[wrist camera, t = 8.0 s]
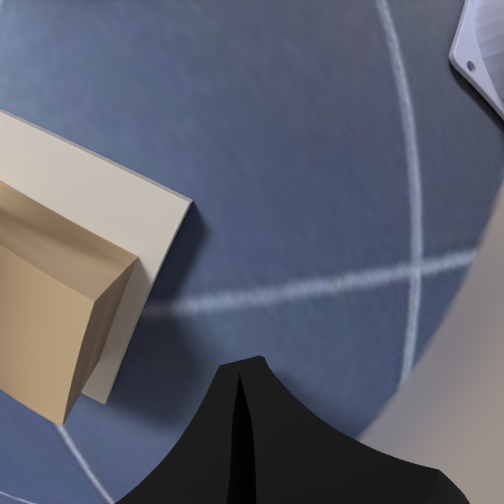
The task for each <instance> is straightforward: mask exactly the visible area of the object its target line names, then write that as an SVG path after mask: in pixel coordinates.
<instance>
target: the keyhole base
mask: <svg viewBox="0 0 504 504" xmlns="http://www.w3.org/2000/svg"><path fill="white" fill-rule="evenodd" d="M0 180H1V181H3V182H4V183H6V184H8V185H9V186H11V187H13V188H14V189H16V190H18V191H19V192H21V193H23V194H25V195H26V196H28V197H30V198H31V199H33V200H35V201H37V202H38V203H40V204H42V205H44V206H45V207H47V208H49V209H51V210H52V211H54V212H56V213H58V214H60V215H61V216H63V217H65V218H67V219H69V220H70V221H72V222H74V223H76V224H78V225H80V226H82V227H83V228H85V229H87V230H89V231H91V232H93V233H95V234H96V235H98V236H100V237H102V238H104V239H106V240H108V241H110V242H112V243H114V244H115V245H117V246H119V247H121V248H123V249H125V250H127V251H129V252H131V253H133V254H135V255H137V256H138V259H137V261H136V264H135V266H134V268H133V271H132V273H131V276H130V278H129V281H128V283H127V286H126V288H125V291H124V293H123V296H122V299H121V301H120V304H119V306H118V309H117V312H116V315H115V317H114V320H113V323H112V326H111V328H110V331H109V334H108V337H107V340H106V343H105V346H104V349H103V352H102V355H101V358H100V360H99V362H98V364H97V365H96V367H95V369H94V370H93V372H92V374H91V376H90V377H89V379H88V381H87V382H86V384H85V386H84V388H83V389H82V391H81V393H82V394H84V395H86V396H88V397H90V398H92V399H94V400H96V401H98V402H100V403H102V404H104V405H105V403H106V401H107V399H108V396H109V394H110V392H111V390H112V387H113V384H114V381H115V379H116V376H117V373H118V371H119V368H120V365H121V363H122V360H123V357H124V355H125V352H126V350H127V347H128V345H129V342H130V339H131V337H132V334H133V332H134V330H135V327H136V325H137V322H138V320H139V317H140V315H141V313H142V310H143V308H144V305H145V303H146V301H147V298H148V296H149V294H150V291H151V289H152V287H153V284H154V282H155V280H156V278H157V275H158V273H159V271H160V269H161V266H162V264H163V262H164V260H165V258H166V255H167V253H168V251H169V249H170V247H171V245H172V243H173V240H174V238H175V236H176V234H177V232H178V230H179V228H180V226H181V224H182V222H183V219H184V217H185V215H186V213H187V211H188V209H189V207H190V205H191V203H192V201H193V200H192V199H190V198H188V197H186V196H184V195H182V194H180V193H178V192H176V191H174V190H172V189H169V188H167V187H165V186H163V185H161V184H159V183H157V182H155V181H153V180H151V179H149V178H147V177H145V176H143V175H141V174H139V173H137V172H135V171H133V170H131V169H128V168H126V167H124V166H122V165H120V164H118V163H116V162H114V161H112V160H110V159H108V158H106V157H104V156H101V155H99V154H97V153H95V152H93V151H91V150H89V149H87V148H85V147H82V146H80V145H78V144H76V143H74V142H72V141H70V140H68V139H65V138H63V137H61V136H59V135H57V134H55V133H53V132H50V131H48V130H46V129H44V128H42V127H40V126H37V125H35V124H33V123H31V122H29V121H27V120H24V119H22V118H20V117H18V116H16V115H13V114H11V113H9V112H7V111H5V110H2V109H0Z"/></svg>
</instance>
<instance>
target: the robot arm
mask: <svg viewBox="0 0 504 504" xmlns="http://www.w3.org/2000/svg"><path fill="white" fill-rule="evenodd" d="M449 58H450V62H451V64H452V65H453V66H454V68H455V69H456V70H457V71H458V72H459V73H460V74H461V75H462V76H463V77H464V78H465V79H466V80H467V81H468V82H469V83H470V84H471V85H472V86H473V87H474V88H475V89H476V90H477V91H478V92H479V93H480V94H481V95H482V96H483V97H484V98H485V99H486V101H487V102H488V103H489V104H490V105H491V106H492V107H493V108H494V110H495V111H496V112H497V113H498V114H499V115H500V117H501V118H502V119H503V120H504V0H465V4H464V7H463V11H462V14H461V18H460V21H459V24H458V28H457V31H456V34H455V37H454V40H453V43H452V46H451V49H450V52H449ZM467 66H468V67H469V69H468V67H467ZM115 504H470V503H469V501H468V500H467V499H466V497H465V495H464V494H463V493H462V491H461V490H460V489H459V488H458V487H457V486H456V485H455V484H454V483H453V482H452V481H451V480H450V479H449V478H448V477H447V476H446V475H445V474H443V473H442V472H441V471H440V470H438V469H434V468H430V467H425V466H421V465H417V464H414V463H410V462H407V461H404V460H401V459H398V458H395V457H393V456H390V455H387V454H385V453H382V452H379V451H377V450H375V449H373V448H370V447H368V446H366V445H364V444H362V443H360V442H358V441H356V440H354V439H352V438H350V437H348V436H346V435H345V434H343V433H341V432H340V431H338V430H336V429H335V428H333V427H332V426H330V425H329V424H327V423H326V422H324V421H323V420H321V419H320V418H319V417H317V416H316V415H315V414H313V413H312V412H311V411H310V410H308V409H307V408H306V407H305V406H304V405H303V404H302V403H300V402H299V401H298V400H297V399H296V398H295V397H294V396H293V395H292V394H291V393H290V392H289V391H288V390H287V389H286V388H285V387H284V386H283V385H282V383H281V382H280V381H279V380H278V379H277V378H276V376H275V375H274V374H273V372H272V371H271V369H270V368H269V366H268V365H267V363H266V360H265V358H264V357H262V356H256V357H252V358H248V359H244V360H240V361H236V362H232V363H228V364H224V365H220V366H219V368H218V369H217V372H216V374H215V376H214V378H213V381H212V383H211V385H210V387H209V389H208V391H207V393H206V395H205V397H204V399H203V401H202V403H201V405H200V407H199V408H198V410H197V412H196V414H195V416H194V417H193V419H192V420H191V422H190V424H189V425H188V427H187V428H186V430H185V431H184V433H183V435H182V436H181V437H180V439H179V440H178V442H177V443H176V444H175V446H174V447H173V448H172V450H171V451H170V452H169V453H168V454H167V456H166V457H165V458H164V459H163V460H162V462H161V463H160V464H159V465H158V466H157V467H156V468H155V469H154V470H153V471H152V472H151V473H150V474H149V475H148V476H147V477H146V478H145V479H144V480H143V481H142V482H141V483H140V484H139V485H137V486H136V487H135V488H134V489H133V490H132V491H130V492H129V493H128V494H127V495H126V496H124V497H123V498H122V499H120V500H119V501H118V502H116V503H115Z"/></svg>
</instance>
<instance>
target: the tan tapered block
mask: <svg viewBox="0 0 504 504" xmlns="http://www.w3.org/2000/svg"><path fill="white" fill-rule="evenodd" d="M137 259H138V256H137V255H135V254H133V253H131V252H129V251H127V250H125V249H123V248H121V247H119V246H117V245H115V244H114V243H112V242H110V241H108V240H106V239H104V238H102V237H100V236H98V235H96V234H95V233H93V232H91V231H89V230H87V229H85V228H83V227H82V226H80V225H78V224H76V223H74V222H72V221H70V220H69V219H67V218H65V217H63V216H61V215H60V214H58V213H56V212H54V211H52V210H51V209H49V208H47V207H45V206H44V205H42V204H40V203H38V202H37V201H35V200H33V199H31V198H30V197H28V196H26V195H25V194H23V193H21V192H19V191H18V190H16V189H14V188H13V187H11V186H9V185H8V184H6V183H4V182H3V181H1V180H0V389H2V390H3V391H4V392H6V393H7V394H9V395H10V396H12V397H13V398H15V399H16V400H18V401H19V402H21V403H22V404H24V405H25V406H27V407H29V408H30V409H32V410H33V411H35V412H37V413H38V414H40V415H42V416H43V417H45V418H47V419H49V420H50V421H52V422H54V423H56V424H58V425H59V426H61V427H62V426H63V424H64V422H65V420H66V419H67V417H68V415H69V413H70V411H71V409H72V407H73V406H74V404H75V402H76V400H77V398H78V397H79V395H80V393H81V391H82V389H83V388H84V386H85V384H86V382H87V381H88V379H89V377H90V376H91V374H92V372H93V370H94V369H95V367H96V365H97V364H98V362H99V360H100V358H101V355H102V352H103V349H104V346H105V343H106V340H107V337H108V334H109V331H110V328H111V326H112V323H113V320H114V317H115V315H116V312H117V309H118V306H119V304H120V301H121V299H122V296H123V293H124V291H125V288H126V286H127V283H128V281H129V278H130V276H131V273H132V271H133V268H134V266H135V264H136V261H137Z"/></svg>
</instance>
